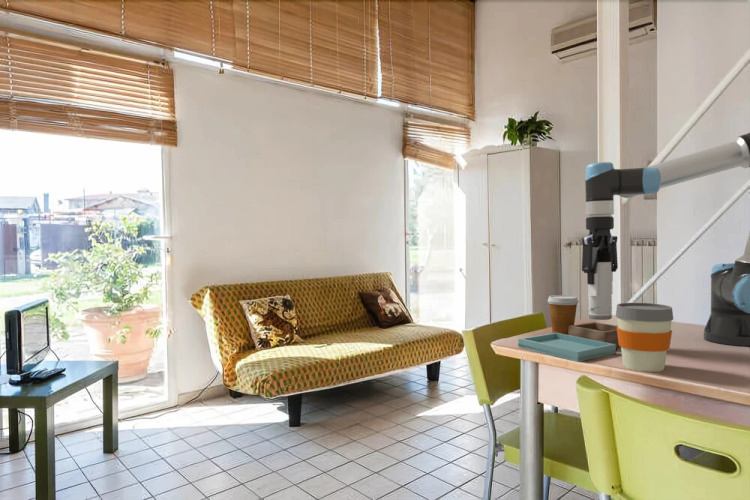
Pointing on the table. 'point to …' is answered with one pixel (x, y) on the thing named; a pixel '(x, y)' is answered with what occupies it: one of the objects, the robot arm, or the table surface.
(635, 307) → the reusable coffee cup
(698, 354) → the table surface
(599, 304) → the travel mug
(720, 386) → the table surface
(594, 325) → the brown wooden crate
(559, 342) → the tray
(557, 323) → the disposable coffee cup
